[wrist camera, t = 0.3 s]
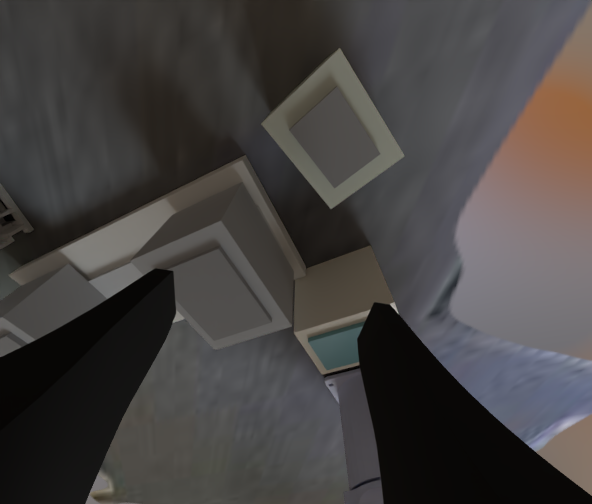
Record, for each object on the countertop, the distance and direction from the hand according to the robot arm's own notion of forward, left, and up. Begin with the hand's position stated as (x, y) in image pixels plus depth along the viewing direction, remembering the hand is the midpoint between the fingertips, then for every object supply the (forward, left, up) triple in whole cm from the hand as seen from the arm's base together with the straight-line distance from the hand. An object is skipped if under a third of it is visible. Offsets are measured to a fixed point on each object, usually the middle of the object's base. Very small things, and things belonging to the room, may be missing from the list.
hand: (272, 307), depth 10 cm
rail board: (-1, +11, -10) cm, 14 cm away
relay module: (-8, -1, -10) cm, 12 cm away
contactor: (+3, -4, -10) cm, 11 cm away
